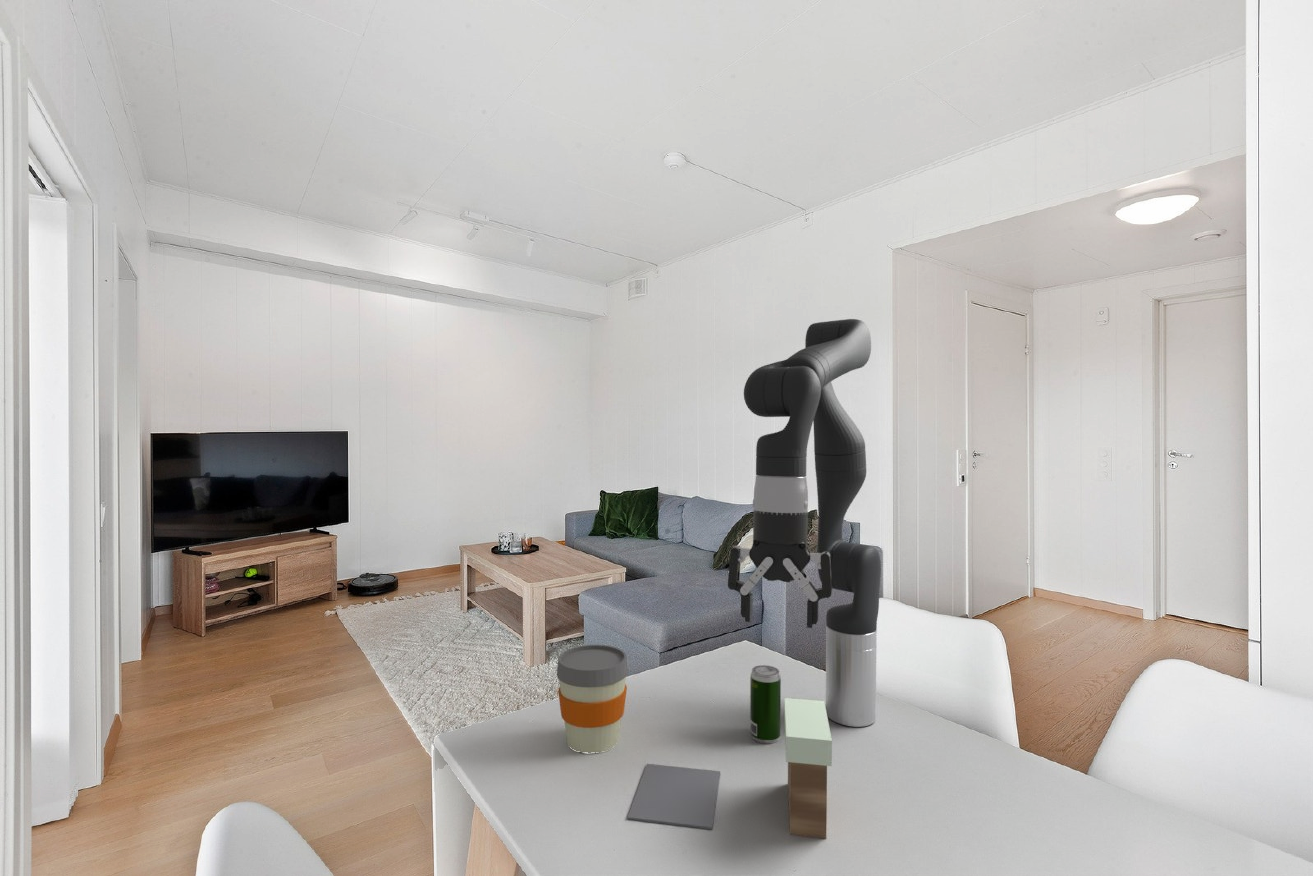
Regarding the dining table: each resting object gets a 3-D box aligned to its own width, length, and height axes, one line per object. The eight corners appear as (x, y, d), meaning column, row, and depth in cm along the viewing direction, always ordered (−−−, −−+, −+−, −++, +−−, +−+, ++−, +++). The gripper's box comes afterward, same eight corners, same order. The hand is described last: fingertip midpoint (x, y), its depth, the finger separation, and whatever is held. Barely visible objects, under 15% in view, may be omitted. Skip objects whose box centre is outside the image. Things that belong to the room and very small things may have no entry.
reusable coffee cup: (543, 751, 106) (542, 664, 106) (579, 718, 118) (578, 640, 117) (608, 766, 101) (608, 675, 101) (639, 731, 113) (639, 649, 113)
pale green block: (784, 720, 96) (784, 698, 96) (824, 723, 95) (824, 701, 95) (786, 761, 85) (786, 736, 84) (831, 766, 83) (831, 740, 83)
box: (787, 783, 97) (788, 720, 96) (819, 787, 96) (820, 723, 95) (790, 834, 85) (790, 762, 84) (826, 838, 84) (827, 765, 84)
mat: (647, 765, 102) (647, 763, 102) (720, 773, 99) (720, 771, 99) (627, 819, 88) (627, 817, 88) (712, 829, 86) (712, 827, 86)
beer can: (764, 747, 107) (765, 679, 107) (743, 734, 112) (744, 668, 111) (786, 739, 110) (787, 672, 110) (765, 726, 115) (766, 662, 114)
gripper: (833, 508, 89) (832, 622, 88) (735, 504, 93) (733, 612, 93) (831, 513, 82) (830, 636, 81) (725, 508, 86) (723, 625, 86)
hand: (778, 623), depth 87 cm, fingers open, 8 cm apart
